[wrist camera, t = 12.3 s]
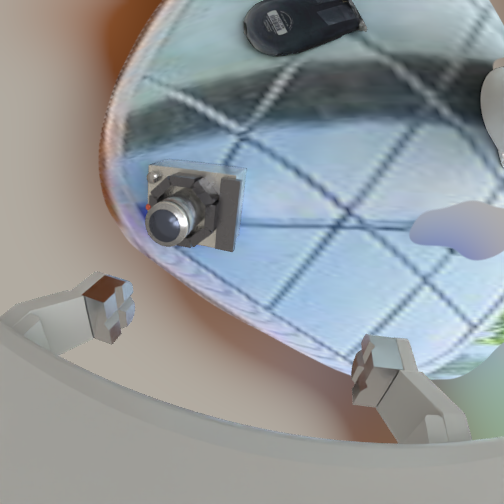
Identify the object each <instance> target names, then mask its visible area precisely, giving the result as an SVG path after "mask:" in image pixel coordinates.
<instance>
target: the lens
mask: <svg viewBox="0 0 504 504" xmlns="http://www.w3.org/2000/svg"><path fill="white" fill-rule="evenodd" d="M205 207H206V206H205V205H204V204H203V202H202V201H201V200H200V198H199V197H198V196H197V195H196V193H195V192H194V191H193V190H192V189H188V188H186V189H181V190H179V191H177V192H176V193H174V194H172V195H171V196H169V197H168V198H166V199H164V200H163V201H161V202H159V203H157V204H155V205H154V206H153V207H152V208H151V209H150V210H149V211H148V213H147V215H146V219H145V225H146V229H147V232H148V234H149V235H150V237H151V238H152V239H153V240H154V241H155V242H156V243H158V244H160V245H162V246H166V247H171V246H175V245H177V244H178V243H180V242H181V241H182V240H183V239H184V238H185V237H186V236H187V235H188V234H189V233H190V232H191V231H192V230H193V229H194V228H195V227H196V226H197V225H198V224H199V223H200V222H201V221H202V220H203V219H204V217H205Z"/></svg>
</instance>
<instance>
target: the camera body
mask: <svg viewBox="0 0 504 504" xmlns="http://www.w3.org/2000/svg"><path fill="white" fill-rule="evenodd" d="M246 171H247V168H240V167H233V166H226V165H218V164H210V163H202V162H193V161H184V160H174V159H167V160H163V161H160V162H157V163H154V164H150V165H149V173H148V174H147V180H148V204H147V205H146V209H147V210H148V211H149V210H150V209H151V208H152V207H153V206H154V205H155V204H157V203H159V202H161V201H163V200H164V199H166V198H168V197H169V196H171V195H172V194H174V193H176V192H177V191H179V190H181V189H186V188H188V189H192V190H193V191H194V192H195V193H196V195H197V196H198V197H199V198H200V200H201V201H202V202H203V204H204V205H205V206H206V207H205V217H204V219H203V220H202V221H201V222H200V223H199V224H198V225H197V226H196V227H195V228H194V229H193V230H192V231H191V232H190V233H189V234H188V235H187V236H186V237H185V238H184V239H183V240H182V241H181V242H180V243H178V244H177V245H179V246H184V247H188V248H191V247H192V246H193V247H195V246H196V245H197V244H198V245H203V246H208V247H213V248H215V249H220V250H225V251H230V252H233V251H234V249H235V241H236V238H237V237H238V235H239V230H240V222H241V213H242V204H243V196H244V188H245V179H246ZM148 235H149V234H148Z"/></svg>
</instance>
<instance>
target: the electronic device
mask: <svg viewBox="0 0 504 504" xmlns="http://www.w3.org/2000/svg"><path fill="white" fill-rule="evenodd" d="M243 22H244V34H245V35H246V36H247V38H248V40H249V42H250V43H251V44H252V46H253V47H254V48H255V49H257V50H258V51H260V52H262V53H265V54H267V55H271V56H281V55H282V56H284V55H288V54H296V53H300V52H303V51H306V50H308V49H311V48H314V47H317V46H320V45H322V44H325V43H327V42H330V41H332V40H335V39H338V38H340V37H341V36H342V35H345V34H347V33H350V32H353V31H355V30H360V31H365V32H366V31H367V27H366V25H365V23H364V21H363V19H362V18H361V16H360V14H359V12H358V11H357V9H356V7H355V5H354V4H353V2H352V0H263V1H261V2H259V3H257V4H255V5H254V6H253V7H252V8H251V9H250V10H249V12H248V13H247V15H246V16H245V19H244V21H243Z"/></svg>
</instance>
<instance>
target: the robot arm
mask: <svg viewBox="0 0 504 504" xmlns="http://www.w3.org/2000/svg"><path fill="white" fill-rule="evenodd" d="M481 111H482V116H483V120H484V123H485V126H486V129H487V131H488V133H489V135H490V137H491V139H492V140H493V142H494V143H495V145H496V147H497V149H498V152H499V156H500V160H501V164H502V166H503V167H504V67H499V68H496V69H494V70H492V71H491V72H490V73H489V74H488V75H487V77H486V78H485V80H484V82H483V85H482V90H481ZM132 293H133V287H132V283H131V282H129V281H127V280H123V279H120V278H117V277H114V276H111V275H107V274H104V273H101V272H94V273H93V274H91V275H90V276H89V277H87V278H86V279H85V280H84V281H83V282H81V283H80V284H79V285H77V287H75V288H74V289H72V290H71V291H68V290H66V291H63V292H59V293H55V294H51V295H48V296H44V297H40V298H36V299H32V300H29V301H25V302H21V303H18V304H15V305H14V306H13V307H12V308H10V309H9V310H8V311H7V312H6V313H4V314H3V315H2V316H1V317H0V504H504V436H502V437H496V438H488V439H480V440H472V437H471V433H470V430H469V426H468V423H467V419H466V416H465V413H464V412H463V411H462V410H461V409H460V408H459V407H458V406H456V405H455V404H454V403H453V402H452V401H451V400H450V399H449V398H448V397H447V396H446V395H445V394H444V393H443V392H442V391H441V390H440V389H439V388H438V387H437V386H436V385H435V384H434V383H433V382H432V381H431V380H430V379H429V378H428V377H427V376H426V375H425V374H423V373H422V372H418V369H417V365H416V362H415V359H414V355H413V352H412V349H411V346H410V343H409V340H408V339H404V338H395V337H394V338H391V337H384V336H377V335H371V334H366V335H365V336H364V338H363V340H362V342H361V346H362V350H361V351H359V352H358V353H357V354H356V356H355V359H354V361H353V365H352V372H351V377H352V380H353V381H354V383H355V385H354V387H353V388H352V396H353V405H361V406H368V407H377V408H376V409H377V410H378V412H379V414H380V415H381V417H382V418H383V420H384V421H385V423H386V424H387V426H388V428H389V429H390V430H391V432H392V433H393V435H394V437H395V438H396V440H397V441H398V443H399V444H388V443H366V442H365V443H364V442H352V441H341V440H331V439H323V438H315V437H308V436H301V435H295V434H289V433H283V432H277V431H272V430H267V429H262V428H257V427H252V426H248V425H243V424H239V423H235V422H231V421H227V420H223V419H219V418H216V417H212V416H209V415H205V414H202V413H198V412H194V411H191V410H188V409H185V408H182V407H179V406H176V405H173V404H170V403H167V402H164V401H161V400H158V399H155V398H153V397H150V396H147V395H145V394H142V393H139V392H137V391H134V390H131V389H129V388H127V387H124V386H122V385H119V384H117V383H114V382H112V381H110V380H108V379H105V378H103V377H101V376H99V375H96V374H94V373H92V372H90V371H88V370H86V369H84V368H82V367H80V366H78V365H75V364H73V363H71V362H69V361H67V360H65V359H64V358H62V357H60V356H58V355H60V354H63V353H65V352H67V351H69V350H71V349H73V348H75V347H77V346H79V345H81V344H83V343H86V342H88V341H90V340H92V339H93V338H95V339H98V340H101V341H104V342H106V343H109V344H113V343H114V342H115V341H116V339H117V338H118V337H119V336H120V335H121V328H124V327H127V326H128V325H129V324H130V322H131V321H132V319H133V316H134V311H135V304H134V301H133V300H132V298H131V297H130V296H131V294H132Z"/></svg>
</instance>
